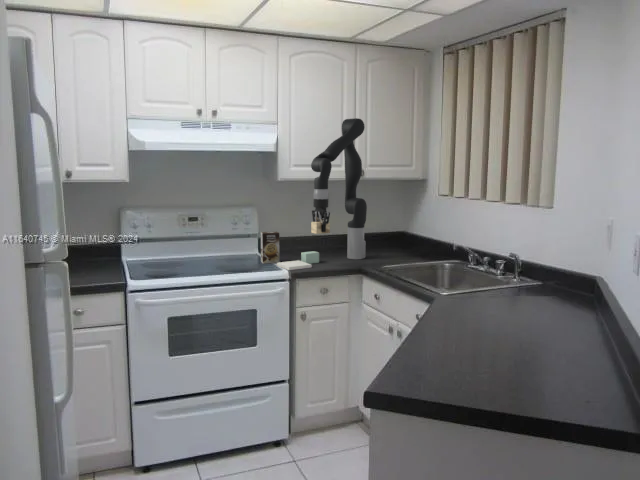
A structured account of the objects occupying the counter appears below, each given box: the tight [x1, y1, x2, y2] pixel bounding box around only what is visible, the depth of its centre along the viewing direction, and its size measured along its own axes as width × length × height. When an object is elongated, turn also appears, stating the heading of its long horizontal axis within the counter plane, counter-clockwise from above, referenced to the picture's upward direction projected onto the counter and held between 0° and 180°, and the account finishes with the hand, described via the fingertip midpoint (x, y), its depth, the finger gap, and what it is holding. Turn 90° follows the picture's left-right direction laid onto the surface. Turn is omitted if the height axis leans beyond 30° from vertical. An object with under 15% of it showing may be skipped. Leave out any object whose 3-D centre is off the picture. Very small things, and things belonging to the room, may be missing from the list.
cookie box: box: [260, 231, 280, 265], centre depth 278 cm, size 9×6×16 cm
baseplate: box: [276, 259, 313, 271], centre depth 269 cm, size 13×13×2 cm
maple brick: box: [310, 220, 331, 235], centre depth 270 cm, size 8×5×6 cm, turn 122°
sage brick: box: [300, 250, 320, 265], centre depth 279 cm, size 8×5×6 cm, turn 122°
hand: (320, 231), depth 270 cm, fingers closed on maple brick, 5 cm apart
